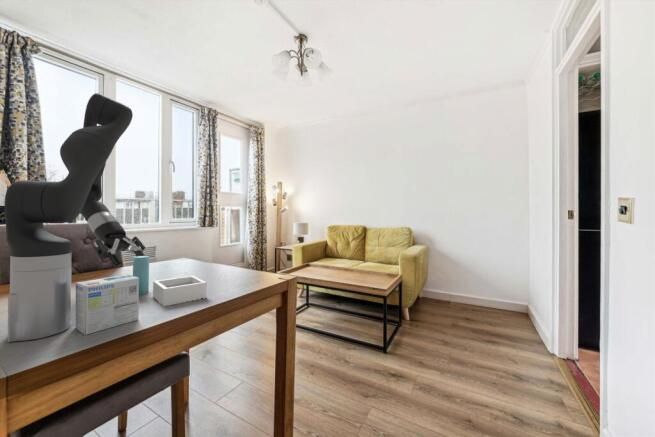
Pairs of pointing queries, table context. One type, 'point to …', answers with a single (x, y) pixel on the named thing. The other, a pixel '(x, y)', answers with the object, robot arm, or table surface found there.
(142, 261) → the peg
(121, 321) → the light bulb box
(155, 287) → the hole box
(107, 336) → the table surface
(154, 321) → the table surface
